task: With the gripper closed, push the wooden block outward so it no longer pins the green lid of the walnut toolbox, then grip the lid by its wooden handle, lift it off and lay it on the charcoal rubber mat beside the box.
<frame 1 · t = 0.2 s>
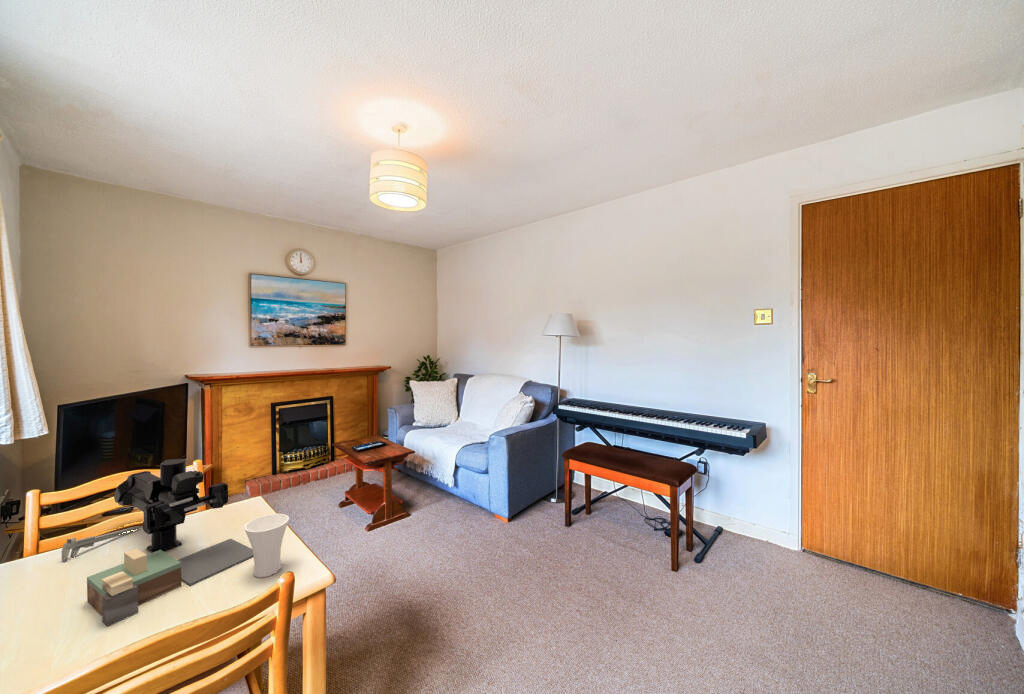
hand: (202, 512, 106), 17 cm above the table, tool horizontal, fingers open, 9 cm apart
wooden block: (117, 583, 90), point 7 cm above the table, slide at 0.0 cm
mat: (212, 560, 112), on the table
cup: (267, 571, 108), on the table
caliper: (105, 545, 121), on the table
lid: (135, 574, 97), point 5 cm above the table, touching toolbox
toolbox: (136, 593, 98), on the table
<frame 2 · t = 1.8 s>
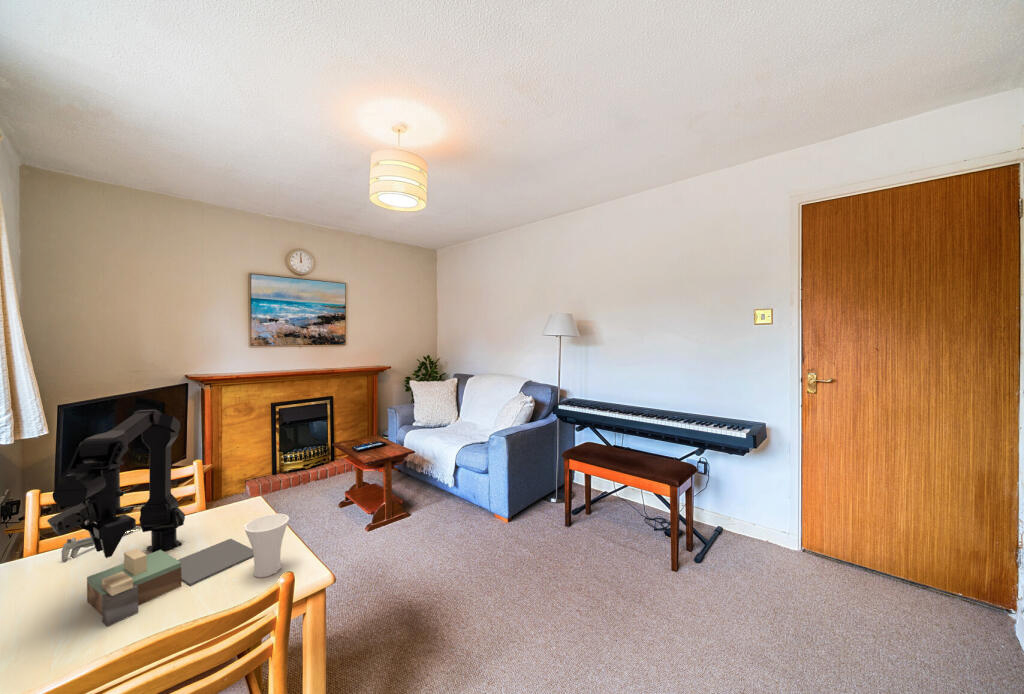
hand: (104, 554, 94), 12 cm above the table, tool pointing down, fingers open, 5 cm apart
nothing on the table moved.
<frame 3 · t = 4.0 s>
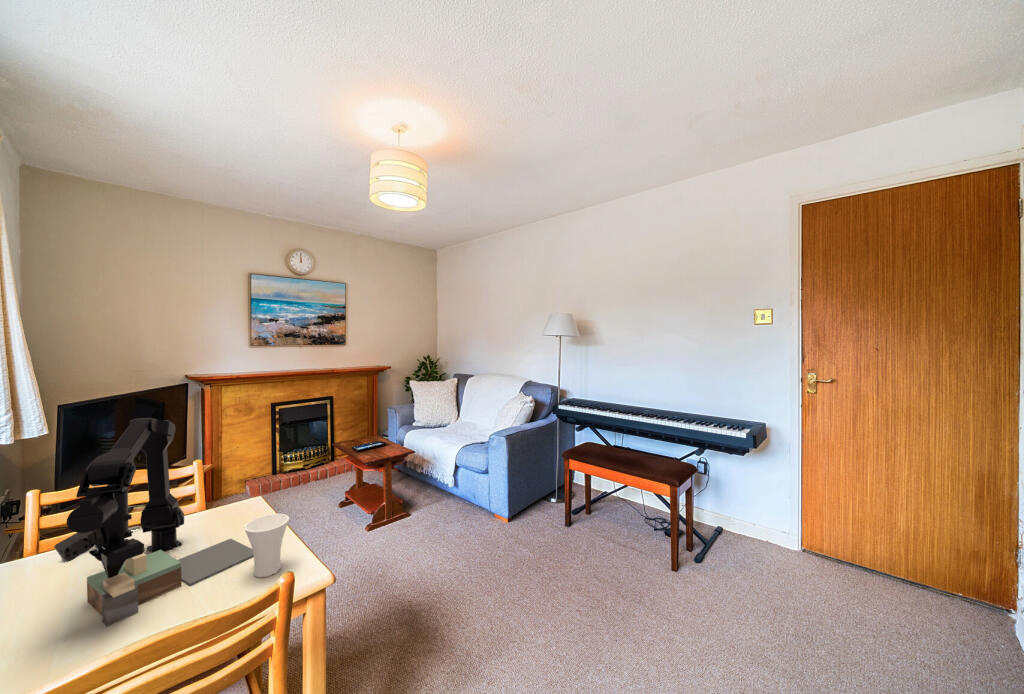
hand: (112, 579, 91), 8 cm above the table, tool pointing down, fingers closed
wooden block: (119, 584, 90), point 7 cm above the table, slide at 1.0 cm, touching gripper
everything else where it was.
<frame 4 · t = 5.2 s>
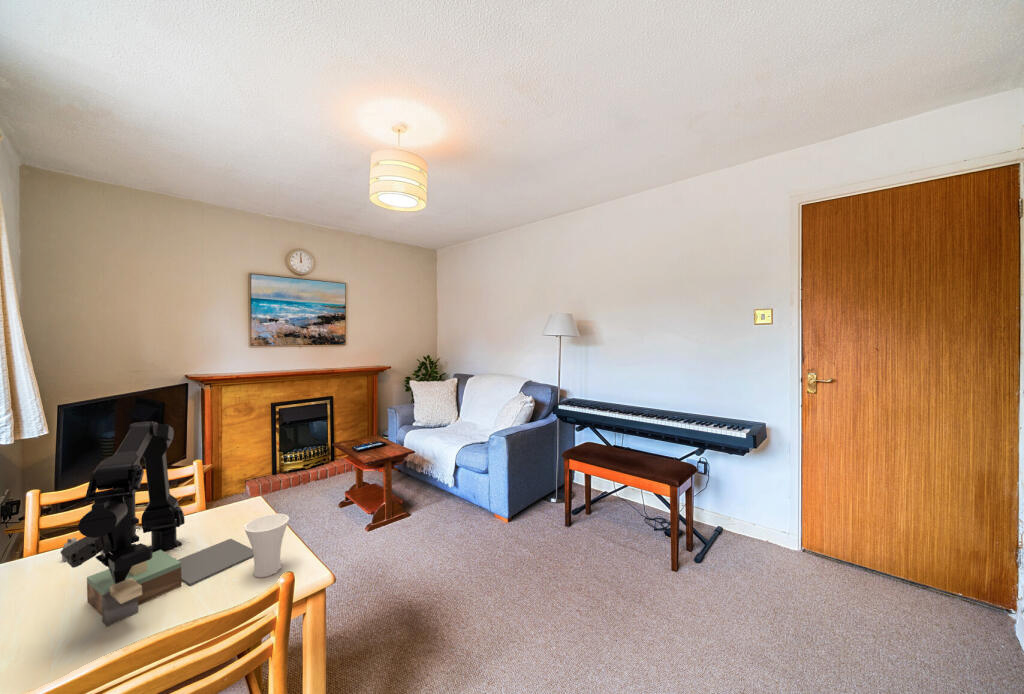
hand: (118, 584, 89), 8 cm above the table, tool pointing down, fingers closed
wooden block: (126, 590, 88), point 7 cm above the table, slide at 5.1 cm, touching gripper
everything else where it was.
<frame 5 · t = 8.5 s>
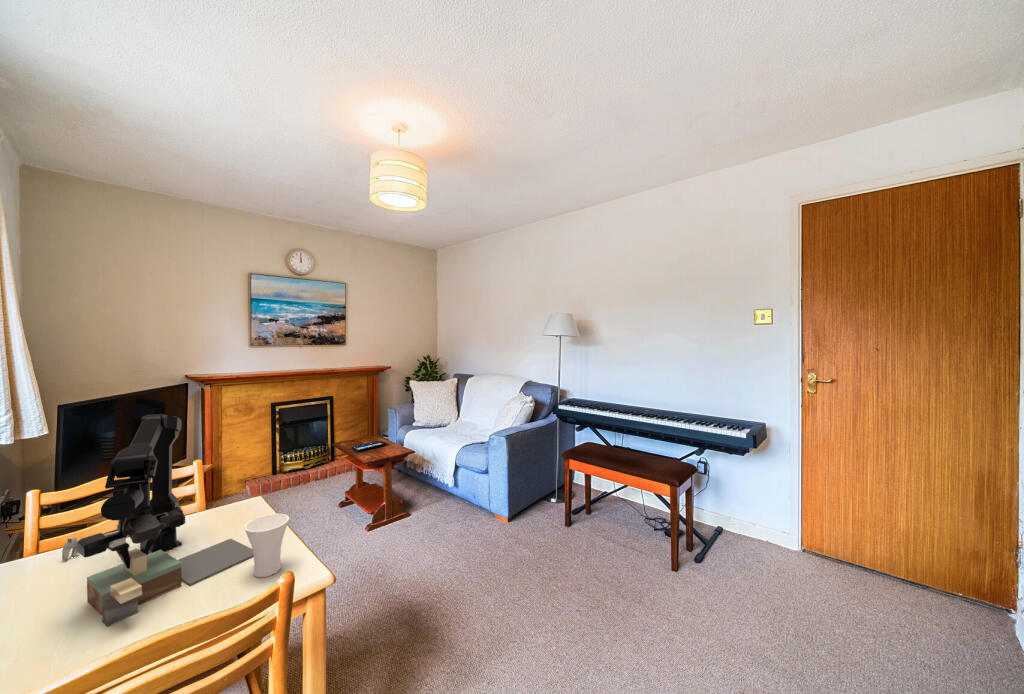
hand: (135, 565, 97), 7 cm above the table, tool pointing down, fingers closed on lid, 2 cm apart
wooden block: (126, 590, 88), point 7 cm above the table, slide at 5.1 cm
lid: (135, 574, 97), point 5 cm above the table, touching gripper, toolbox
everything else where it was.
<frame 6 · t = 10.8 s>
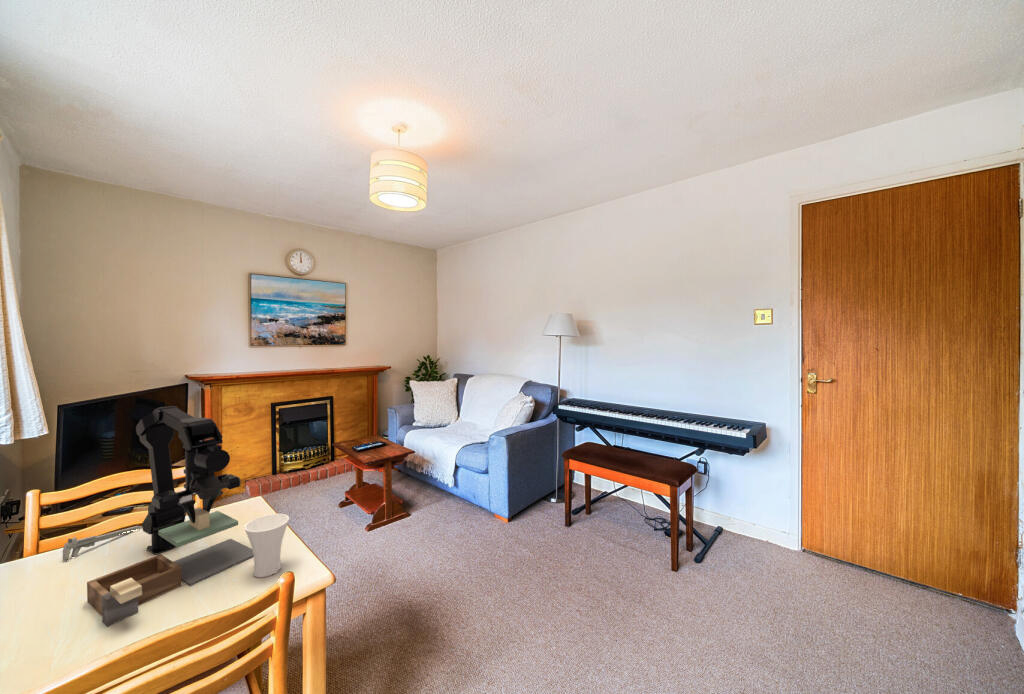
hand: (199, 520, 109), 13 cm above the table, tool pointing down, fingers closed on lid, 2 cm apart
lid: (199, 529, 109), point 10 cm above the table, touching gripper
everything else where it was.
when the fingers open (4 cm above the table, at t = 13.0 s): lid stays where it is, resting on mat.
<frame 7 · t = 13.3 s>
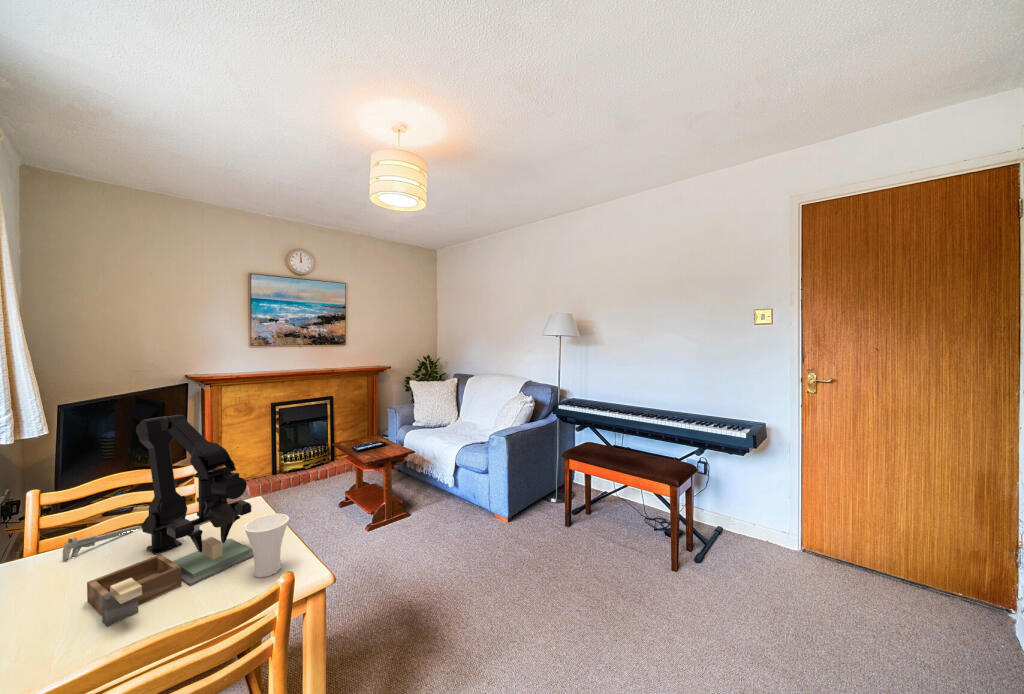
hand: (212, 547, 112), 4 cm above the table, tool pointing down, fingers open, 5 cm apart
lid: (212, 558, 112), point 1 cm above the table, touching mat
everything else where it was.
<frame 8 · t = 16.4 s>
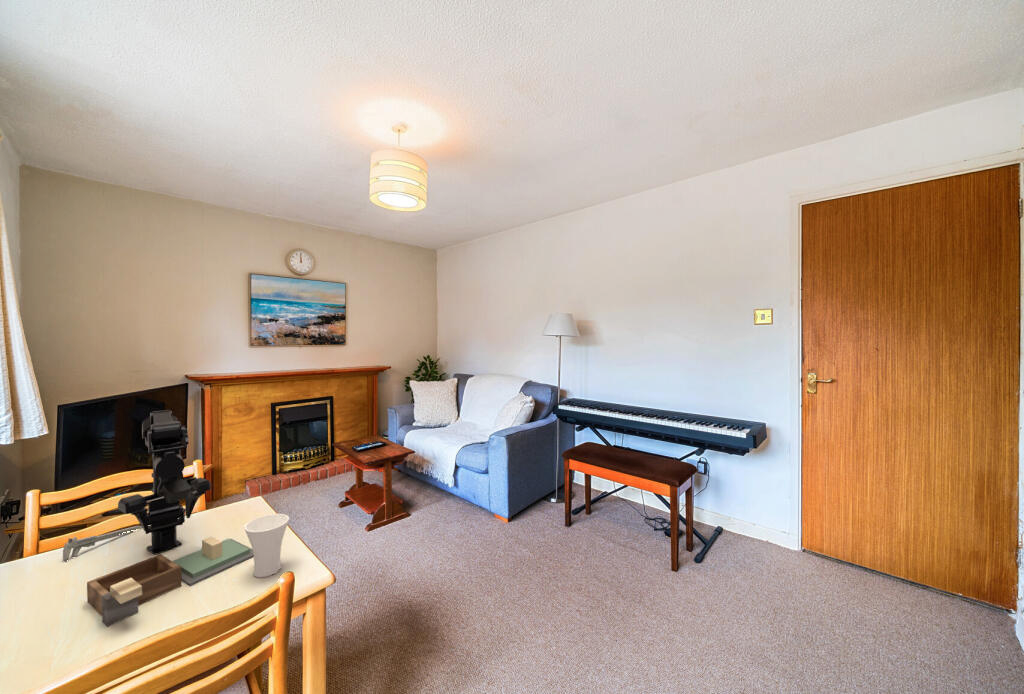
hand: (167, 524, 108), 12 cm above the table, tool pointing down, fingers open, 9 cm apart
nothing on the table moved.
at the end: wooden block slide at 5.1 cm; lid inside the target area (0.0 cm from its centre), point 0.6 cm above the table; lid tilted 0° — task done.
